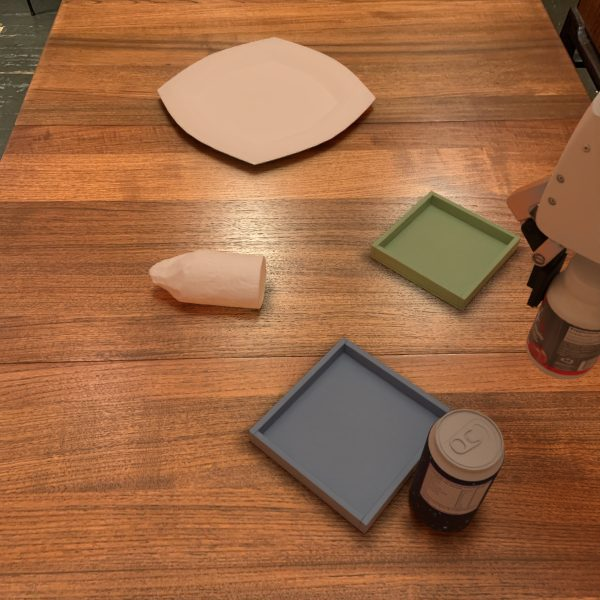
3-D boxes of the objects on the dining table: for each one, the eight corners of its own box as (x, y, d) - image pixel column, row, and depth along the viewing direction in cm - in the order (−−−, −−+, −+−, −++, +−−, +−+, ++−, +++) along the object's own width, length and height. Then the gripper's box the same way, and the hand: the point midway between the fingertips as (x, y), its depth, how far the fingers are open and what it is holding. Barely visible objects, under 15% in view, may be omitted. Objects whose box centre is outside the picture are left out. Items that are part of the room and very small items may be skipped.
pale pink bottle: (161, 269, 73) (153, 233, 69) (267, 277, 73) (265, 242, 68) (148, 311, 70) (138, 276, 65) (259, 320, 69) (257, 285, 65)
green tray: (517, 248, 76) (521, 237, 74) (461, 311, 70) (464, 300, 68) (428, 201, 81) (431, 190, 79) (369, 256, 75) (371, 245, 73)
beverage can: (487, 515, 56) (526, 451, 46) (434, 549, 54) (463, 489, 45) (446, 461, 59) (474, 391, 50) (394, 492, 57) (414, 425, 48)
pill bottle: (517, 326, 54) (551, 241, 46) (583, 327, 54) (627, 241, 46) (531, 382, 50) (570, 299, 43) (602, 382, 50) (653, 299, 43)
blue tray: (453, 422, 61) (456, 412, 60) (364, 534, 55) (366, 526, 53) (342, 347, 67) (343, 336, 65) (249, 440, 60) (248, 430, 59)
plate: (134, 100, 94) (131, 88, 93) (277, 36, 106) (277, 24, 104) (251, 194, 81) (251, 182, 80) (400, 110, 93) (401, 98, 91)
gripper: (885, 130, 33) (713, 345, 47) (566, 23, 40) (499, 237, 54) (849, 206, 29) (674, 416, 43) (505, 73, 36) (450, 289, 50)
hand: (578, 314), depth 48 cm, fingers closed on pill bottle, 5 cm apart
